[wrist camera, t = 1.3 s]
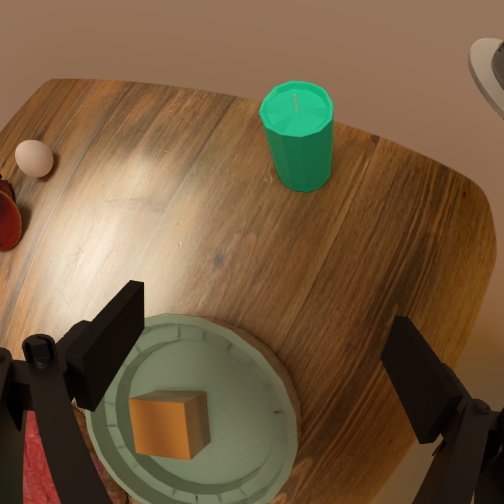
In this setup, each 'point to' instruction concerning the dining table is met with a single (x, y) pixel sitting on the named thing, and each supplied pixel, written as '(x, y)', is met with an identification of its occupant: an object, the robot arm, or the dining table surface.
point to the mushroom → (8, 218)
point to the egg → (34, 158)
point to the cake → (38, 474)
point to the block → (170, 423)
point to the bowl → (219, 415)
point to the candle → (299, 133)
